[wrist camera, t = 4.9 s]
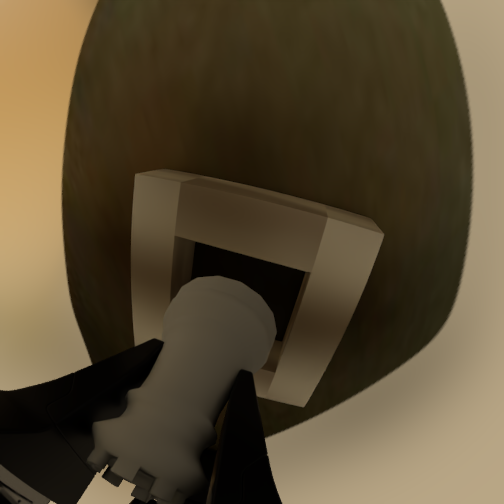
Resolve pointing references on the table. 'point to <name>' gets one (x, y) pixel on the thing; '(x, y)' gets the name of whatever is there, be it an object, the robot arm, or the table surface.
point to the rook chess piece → (185, 390)
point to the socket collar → (258, 246)
